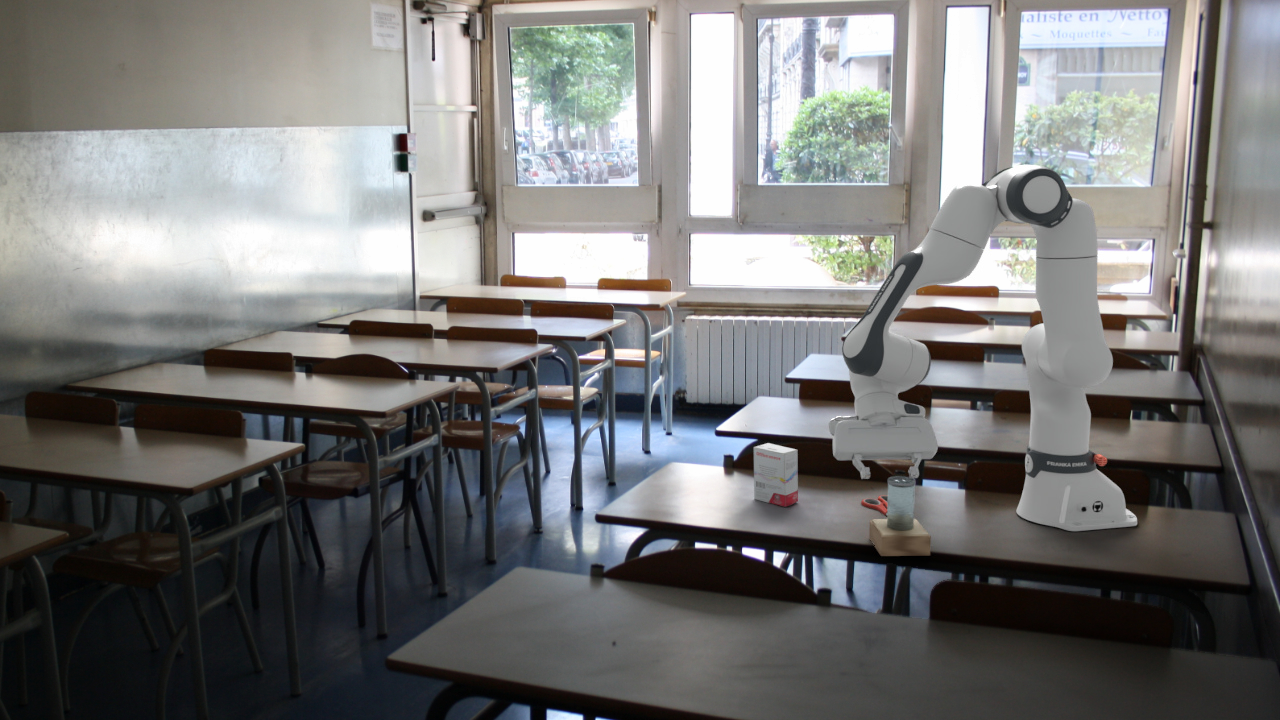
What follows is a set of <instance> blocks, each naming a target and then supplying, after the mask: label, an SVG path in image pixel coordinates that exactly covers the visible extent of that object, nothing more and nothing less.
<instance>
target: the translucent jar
mask: <svg viewBox="0 0 1280 720" xmlns="http://www.w3.org/2000/svg"><path fill="white" fill-rule="evenodd" d="M915 486H916V478H911V477H909V476H905V475H903V476H902V475H895V476H890V477H888V478H887V496H888V501H887V503H888V504H887V516H886V519H887V527H888V528H890V529H893V530H898V531H907V530H911V529H913V527H914V519H915V495H916V494H915V491H916V490H915V489H916V487H915Z"/></svg>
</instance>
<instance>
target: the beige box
mask: <svg viewBox="0 0 1280 720" xmlns="http://www.w3.org/2000/svg"><path fill="white" fill-rule="evenodd" d="M869 538H870V539H869ZM868 539H869V541H870V540H871V541H872V542H873V543H874V545H875V546H874V545H873V546H874V548H875V549H876V551H877V552H878V554H879V555H880V556H881V557H901V556H902V557H906V556H910V557H911V556H915V557H917V556H931V542H932V541H931V540H932V537H931V535H930V534H929V533H928V532H927V530H926V529H925V528H924V526H923V525H922V524H921V523H920V522H919V520H917V519H916V518H914V527H913V529H911V530H907V531H898V530H893V529H890V528H888V527H887V518H873V519H871V520H869V535H868ZM871 541H870V542H871ZM872 542H871V543H872Z"/></svg>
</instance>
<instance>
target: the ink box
mask: <svg viewBox="0 0 1280 720" xmlns="http://www.w3.org/2000/svg"><path fill="white" fill-rule="evenodd" d="M798 455H799V454H798V449H795V448H792V447H787V446H782V445H779V444H774V443H770V442H767V443H766V442H765V443H764V444H760V445H759V444H758V445H757V446H753V483H754V484H753V487H754V488H753V491H754V492H753V493H754V494H753V495H754V496H753V497H754V500H756V501H760V502H763V503H764V502H765V503H767V504H773V505H777V506H780V507H784V508H787V507H788V506H792V505H794V504H795V503H797V502H799V486H798V485H799V477H798V476H799V475H798V474H799V473H798V471H799V469H798V468H799V467H798V458H799V457H798Z"/></svg>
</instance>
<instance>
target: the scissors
mask: <svg viewBox="0 0 1280 720" xmlns="http://www.w3.org/2000/svg"><path fill="white" fill-rule="evenodd" d="M860 504H861V506H863V507H865V508H869V509H872V510H875V511H878V512H880V513H881V514H882V515H883V516H886V517H887V504H888V494H887V495H886V494H885V495H879V496H878V497H877V498H870V497H869V498H868V497H867V498H864V499H862V500H861V502H860Z"/></svg>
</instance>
